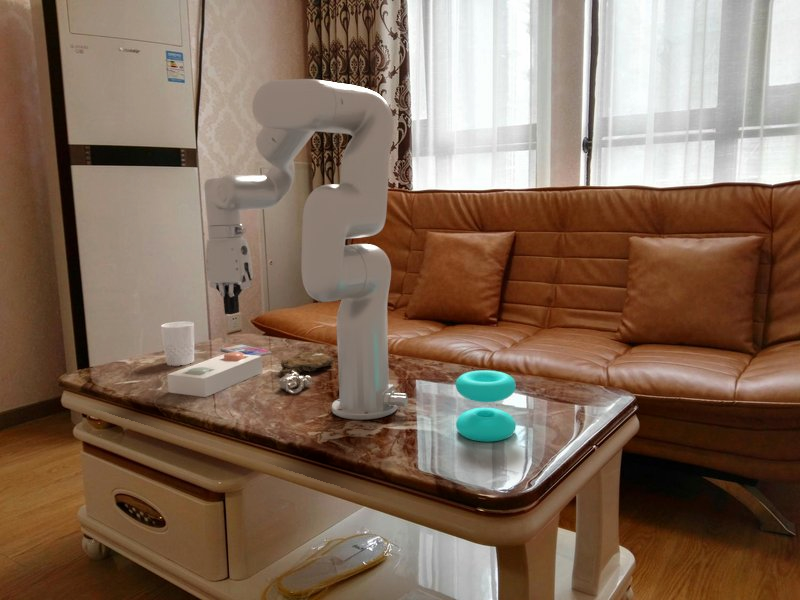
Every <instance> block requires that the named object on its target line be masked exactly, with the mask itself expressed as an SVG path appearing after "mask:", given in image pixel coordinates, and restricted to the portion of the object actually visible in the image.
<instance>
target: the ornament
mask: <svg viewBox="0 0 800 600" xmlns="http://www.w3.org/2000/svg"><path fill="white" fill-rule="evenodd" d="M291 372H292V374H291V375H290V374H289V373H288V374H286V375H283V376H282V377H281V378H280V379H279V388H281V389H282V390H285V391H286V392H287V393H289V394H291V395H297V394H299V393H300V392H301V391H302V390H303V389H304V388H305V387H307V386H310V385H311V384H312V380H313V379H312V377H311V376H310V375H305V376H304V375H300V373H296V372H295V371H293V370H292V371H291Z"/></svg>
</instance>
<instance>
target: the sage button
mask: <svg viewBox="0 0 800 600" xmlns="http://www.w3.org/2000/svg"><path fill="white" fill-rule="evenodd" d="M208 372H209V368H206V367H198V368H192V369H189V370H188V374H190V375H199V376H200V375H203V374H205V373H208Z"/></svg>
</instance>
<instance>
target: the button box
mask: <svg viewBox="0 0 800 600" xmlns="http://www.w3.org/2000/svg"><path fill="white" fill-rule="evenodd" d="M224 354H227V352H225V353H223V354H221V355H220V354H219V355H217V356H215V357H211V358H209V359H206V360H204V361H201V362H198V363H195V364H192V365H190V366H186V367H185V368H181V369H179V370H175V371H172V372H169V373H167V375H166V377H167V387H168V393H171V394H177V395H179V394H180V395H185V396H187V395H188V396H194V397H202V398H207V397H209V396H212V395H214V394H216V393H218V392H221V391H223V390H226V389H228V388H230V387H232V386H235V385H236V384H240V383H241V382H244V381H246V380H248V379H251V378H254V377H256V376H257V375H260V374H263V373H264V367H263V356H257V355H246V354H243V356H244V359H242V360H239V361H237V362H233V361H224ZM198 367H206V368H209V372H208V373H205V374H203V375H200V376H199V375H190V374H188V370H189V369H192V368H198Z"/></svg>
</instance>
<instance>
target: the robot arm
mask: <svg viewBox="0 0 800 600" xmlns="http://www.w3.org/2000/svg"><path fill="white" fill-rule="evenodd" d="M251 106H252V109H251V110H252V115H253V117H254V119H255V121H256V122H257V123H258V124H259V125H260V126H262V128H261V129H260V131H259V132H258V133H257V134H256V138H255V146H256V149H257V151H258V153H259V154H260V155H261V156H262V157H263V159H264V160H266V161H267V162H268V163H270V164H271V167H269V169H268V170H267V172H266V173H264V174H225V175H223V176H221V177H212V178H208V179H206V180H205V182H204V185H203V186H204V187H203V188H204V198H205V199H204V200H205V210H206V219H207V221H206V222H207V234H208V235H207V236H208V239H207V240H206V248H205V249H206V251H205V270H206V277H207V281H208V282H209V287H210V288H211V289H215V290H217V291H218V292H219V294H220V295H219V296H220V297H222V298H223V309H224V310H223V311H224V314H225V315H234V314H238V313H240V302H239V301H240V300H239V296H241V293H242V291H243V290H246V289H248V288H250V287H251V286H252V285H251V281H252V280H253V279H254V270H253V261H252V256H251V252H250V251H251V250H250V247H249V243H248V240H247V238H244V234H246V233H247V229H246V228H245V227H243V219H242V211H245V210H268V209H271V208H273V207H275V206H276V205H278V204H279V203H280V202H281V201H282V200H283V199H284V198H285V196H286V195H287V194H288V193H289V191H290V190H291V188H292V186H293V184H294V180H295V175H296V174H295V172H296V169H295V168H296V167H295V162H294V160H295V158H296V157H297V156H298V155H299V153H300V152H301V151H302V150H303V148H304V147H305V145H306V144H307V143H308V142H309V140H310V139H311V138H312V136H314V135H315V132H320V133H329V134H330V133H331V134H333V133H334V134H346V135H350V136H352V138H351V139H350V140H349V142H348V143H347V145H346V147H345V149H344V151H343V154H342V157H341V163H340V164H341V165H340V166H341V170H340V171H341V172H340V179H339V180H340V182H339V183H335V184H333V183H332V184H331V183H329V184H328V183H327V184H323V185H320V186H317V187H316V188H315V189H313V190H312V191H311V192H310V194H309V195H308V196H307V199H306V200H305V202H304V207H303V211H302V222H301V223H302V224H301V226H302V227H301V261H300V262H301V267H300V268H301V269H300V271H301V279H302V280H301V281H302V283H303V288H304V289H305V291H306V293H307V294H308V295H309V297H310V298H312V299H313V300H315V301H317V302H321V303H322V302H323V303H328V302H335V301H340V300H341V301H340V304H339V307H338V309H337V313H336V342H337V345H336V347H337V348H336V349H337V366H338V367H337V368H338V391H339V393H338V395H339V398H338V399H336V400H334V401H333V402H332V404H331V411H332V413H333V414H334V415H335V416H337V417H340V418H342V419H343V418H344V419H348V420H357V421H358V420H360V421H361V420H374V419H381V418H384V417H386V416H389V415H390V416H391V415H392V414H393V413H395V412H396V411H397V410H398V407H401V408H407V407H408V404H409V397H408V395H407V393H402V392H396V391H395V385H394V384H390V379H389V378H390V374H389V338H388V335H389V334H388V301H389V294H390V293H389V291H390V286H391V278H392V265H391V261H390V258H389V257H388V255H387V253H386V252H385V251H384V250H383V249H381V248H380V247H378V246H376V245H374V244H368V243H355V244H347V245H346V240H348V239H359V238H366V237H372V236H375V235H377V234H379V233H380V232H381V231H382V230H383V229H384V227H385V224H386V219H387V209H388V206H387V205H388V192H389V177H390V176H389V175H390V174H389V173H390V172H389V170H390V169H389V168H390V156H391V149H392V143H393V138H394V129H395V123H394V122H395V121H394V116H393V112H392V110H391V108H390V105H389V104H388V102H387V100H386V99H384V97H382V96H381V95H380V94H379V93H377V92H376V91H373V90H371V89H368V88H365V87H363V86H357V85H354V84H347V83H341V82H339V83H338V82H333V81H327V80H321V79H315V78H314V79H313V78H299V79H295V78H294V79H273V80H268V81H266V82H264V83H263V84H261V85H260V86H259V87H258V89H257V90H256V92H255V94H254V95H253V99H252V103H251Z"/></svg>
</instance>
